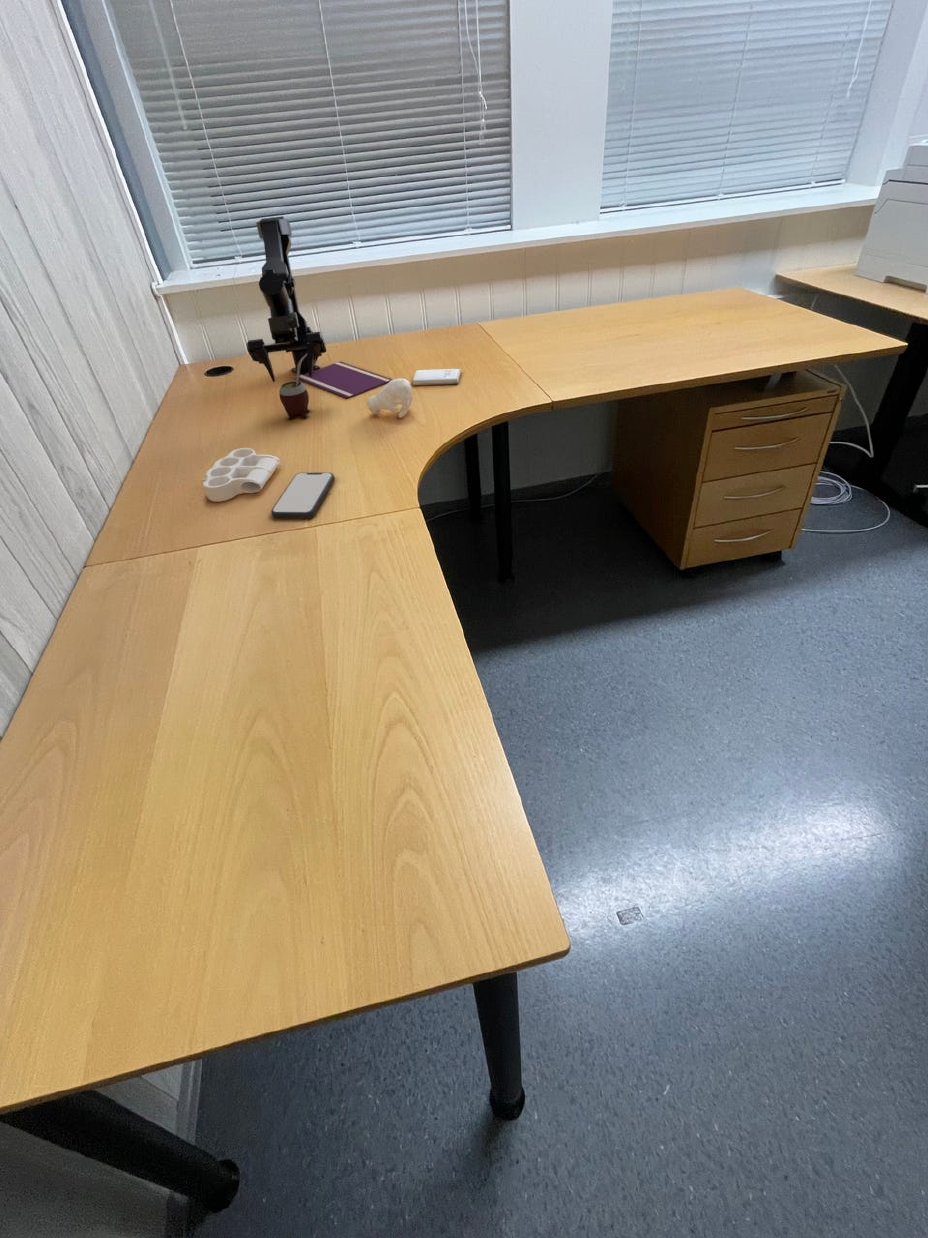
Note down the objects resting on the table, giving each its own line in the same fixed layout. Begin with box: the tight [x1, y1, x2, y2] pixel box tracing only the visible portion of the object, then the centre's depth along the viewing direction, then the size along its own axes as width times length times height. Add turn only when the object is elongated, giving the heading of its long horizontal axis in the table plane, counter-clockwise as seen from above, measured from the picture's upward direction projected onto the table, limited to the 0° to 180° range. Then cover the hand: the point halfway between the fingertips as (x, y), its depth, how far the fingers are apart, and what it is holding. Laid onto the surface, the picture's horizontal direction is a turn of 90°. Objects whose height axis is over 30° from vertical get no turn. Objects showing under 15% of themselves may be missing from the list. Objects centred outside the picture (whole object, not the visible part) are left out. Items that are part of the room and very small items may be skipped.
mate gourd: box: [278, 354, 310, 421], centre depth 151 cm, size 8×8×15 cm
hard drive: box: [412, 368, 461, 386], centre depth 168 cm, size 2×8×12 cm
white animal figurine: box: [366, 378, 413, 419], centre depth 150 cm, size 6×8×12 cm
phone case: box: [270, 472, 335, 520], centre depth 123 cm, size 9×2×16 cm
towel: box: [295, 361, 394, 400], centre depth 174 cm, size 26×16×1 cm, turn 44°
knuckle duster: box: [201, 447, 281, 503], centre depth 130 cm, size 3×18×15 cm
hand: (292, 378), depth 151 cm, fingers open, 9 cm apart
